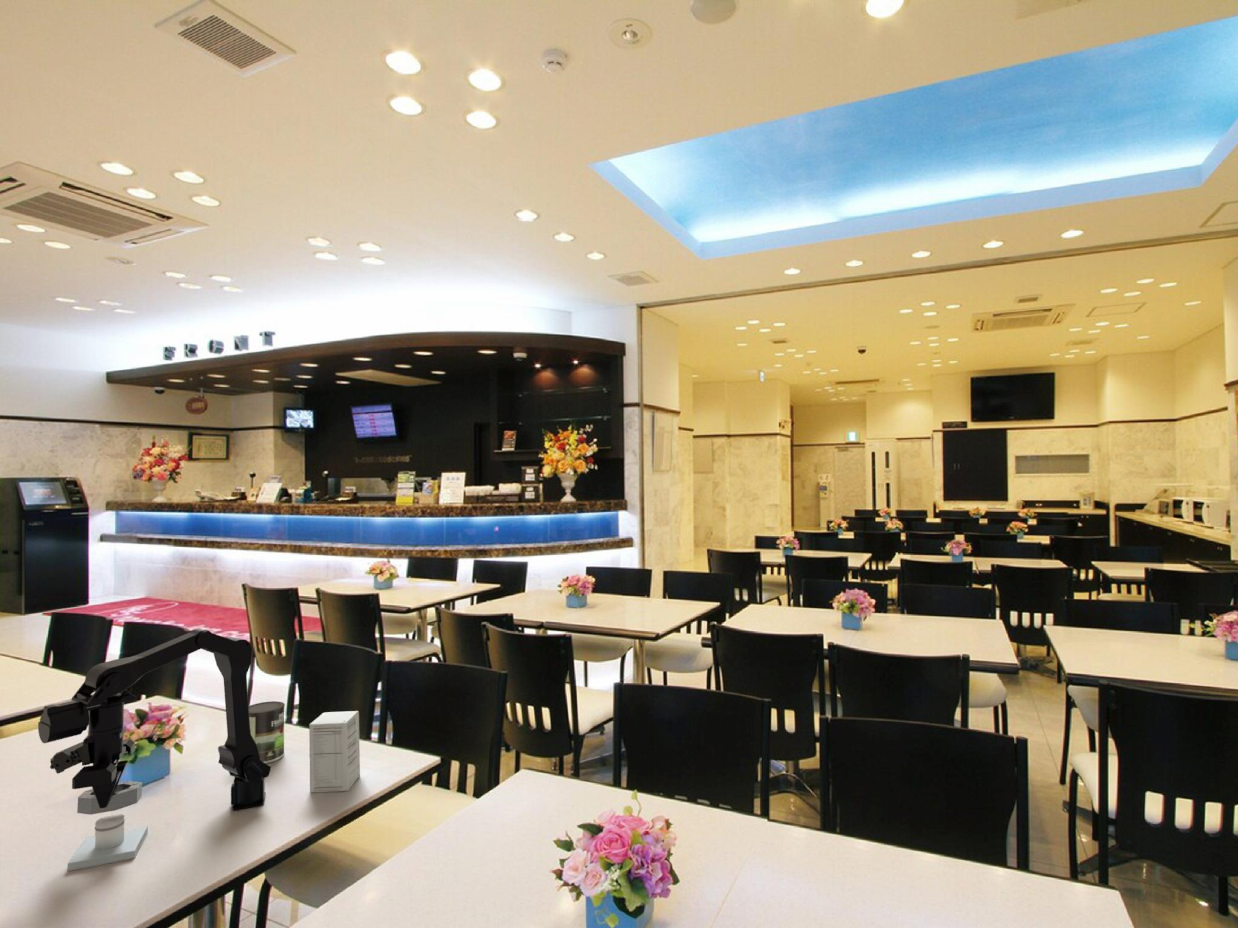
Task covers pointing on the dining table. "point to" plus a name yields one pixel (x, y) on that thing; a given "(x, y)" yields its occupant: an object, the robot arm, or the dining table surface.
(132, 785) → the steel ring
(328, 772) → the supplement box
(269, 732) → the coffee can
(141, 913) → the dining table surface
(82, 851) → the piston base
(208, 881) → the dining table surface
